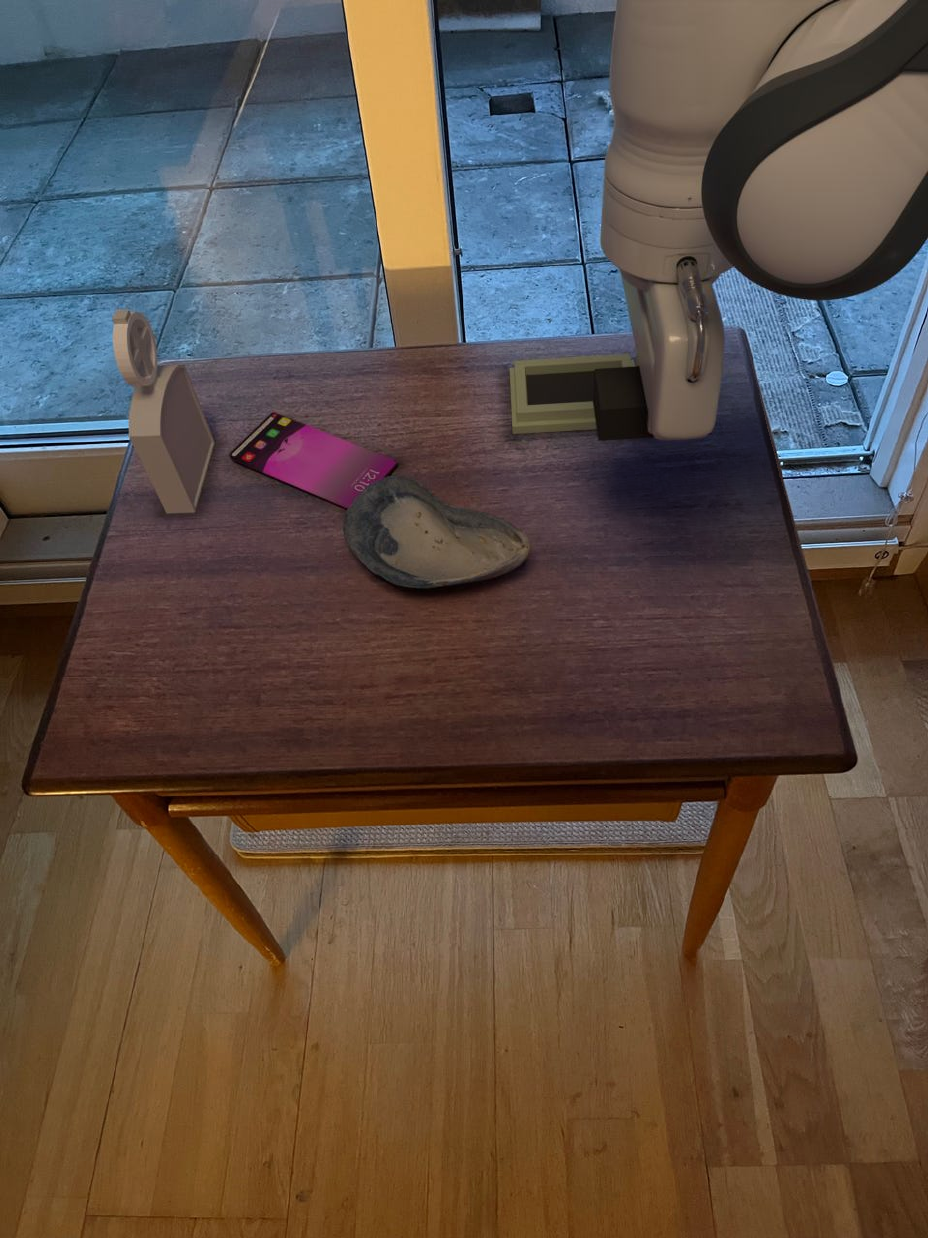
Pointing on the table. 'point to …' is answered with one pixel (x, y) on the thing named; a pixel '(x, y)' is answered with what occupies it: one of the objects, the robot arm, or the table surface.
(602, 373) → the black pad
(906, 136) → the robot arm
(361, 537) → the seashell
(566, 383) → the pad
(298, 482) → the smartphone
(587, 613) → the table surface
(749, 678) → the table surface
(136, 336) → the gravestone
